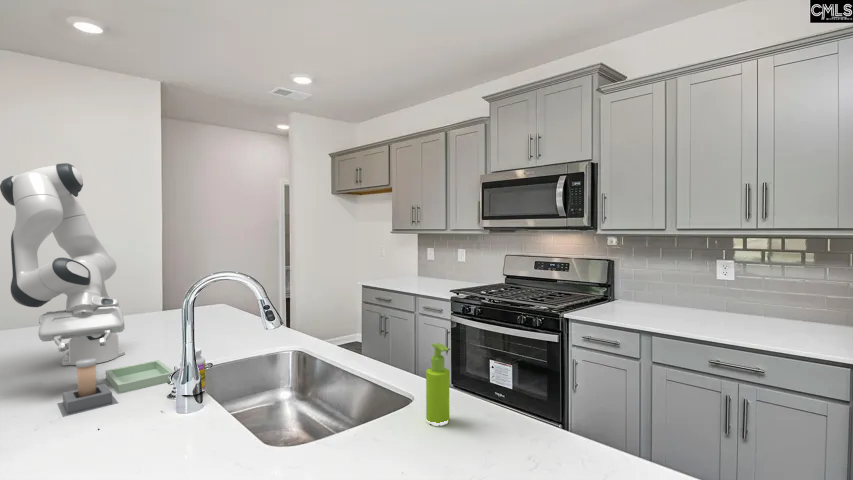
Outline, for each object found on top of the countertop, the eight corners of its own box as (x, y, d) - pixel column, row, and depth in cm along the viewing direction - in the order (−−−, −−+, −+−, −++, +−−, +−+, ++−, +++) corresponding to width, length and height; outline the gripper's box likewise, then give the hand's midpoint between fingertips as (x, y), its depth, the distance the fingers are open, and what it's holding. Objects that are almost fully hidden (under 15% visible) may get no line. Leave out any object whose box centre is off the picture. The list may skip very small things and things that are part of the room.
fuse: (76, 403, 123) (74, 360, 122) (96, 398, 126) (94, 356, 125) (79, 407, 120) (77, 364, 119) (99, 403, 123) (97, 360, 122)
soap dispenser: (435, 430, 108) (435, 349, 107) (422, 419, 114) (422, 342, 114) (455, 425, 111) (455, 346, 110) (442, 414, 117) (442, 339, 116)
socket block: (57, 406, 123) (56, 392, 122) (109, 394, 131) (109, 381, 131) (63, 420, 114) (62, 405, 114) (118, 406, 123) (118, 392, 123)
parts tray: (106, 381, 142) (105, 370, 142) (159, 369, 153) (158, 359, 153) (118, 396, 129) (118, 385, 129) (175, 383, 140) (175, 372, 140)
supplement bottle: (195, 397, 129) (194, 354, 128) (175, 395, 130) (174, 352, 130) (210, 389, 135) (209, 347, 135) (191, 387, 137) (190, 346, 136)
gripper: (38, 306, 128) (33, 347, 121) (123, 298, 140) (124, 336, 132) (41, 319, 132) (37, 359, 125) (124, 310, 144) (125, 347, 136)
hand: (82, 347), depth 128 cm, fingers open, 8 cm apart
